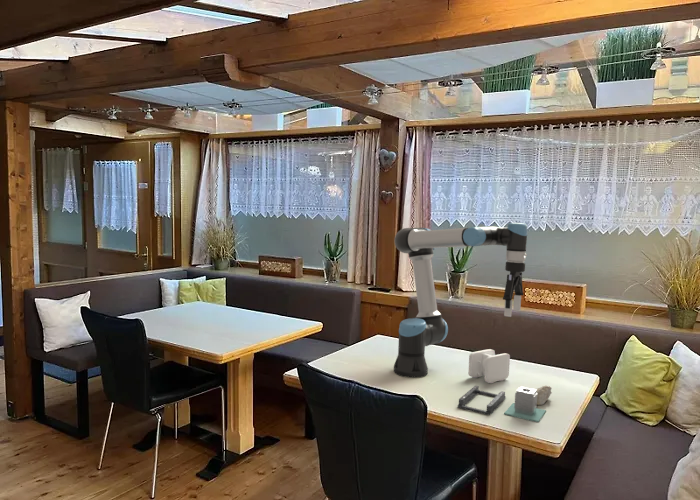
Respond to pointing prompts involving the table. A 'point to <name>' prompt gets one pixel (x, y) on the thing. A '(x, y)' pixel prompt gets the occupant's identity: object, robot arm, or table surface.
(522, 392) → the grey cube with hole
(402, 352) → the robot arm
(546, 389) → the stone
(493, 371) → the cable organizer
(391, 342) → the table surface
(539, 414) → the pad
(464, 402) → the dark grey open frame
